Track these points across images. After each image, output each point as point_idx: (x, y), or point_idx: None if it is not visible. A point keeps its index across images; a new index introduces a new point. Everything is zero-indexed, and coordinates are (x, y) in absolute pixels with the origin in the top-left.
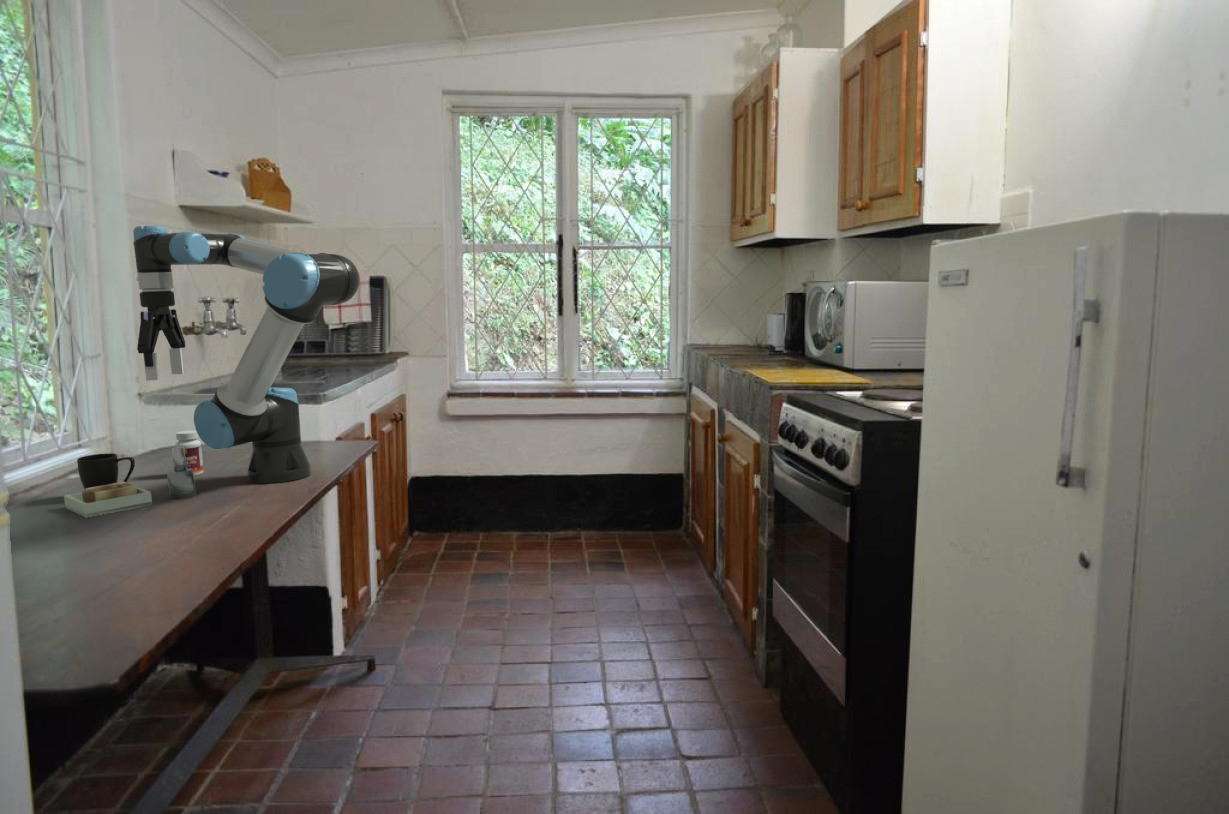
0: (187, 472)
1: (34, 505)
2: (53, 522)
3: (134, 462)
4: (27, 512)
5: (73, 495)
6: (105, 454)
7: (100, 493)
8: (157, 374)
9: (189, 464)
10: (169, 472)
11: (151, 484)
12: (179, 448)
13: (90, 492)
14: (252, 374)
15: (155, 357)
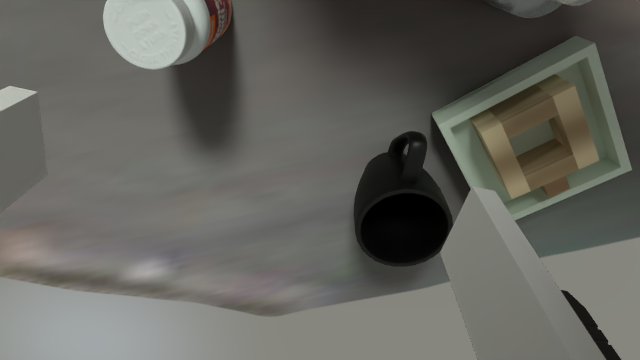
0: None
1: (416, 268)
2: (604, 203)
3: (414, 135)
4: None
5: None
6: (362, 220)
7: (596, 154)
8: (502, 214)
9: (223, 4)
10: (545, 8)
11: (303, 91)
12: None
13: (566, 178)
14: None
15: (583, 335)
